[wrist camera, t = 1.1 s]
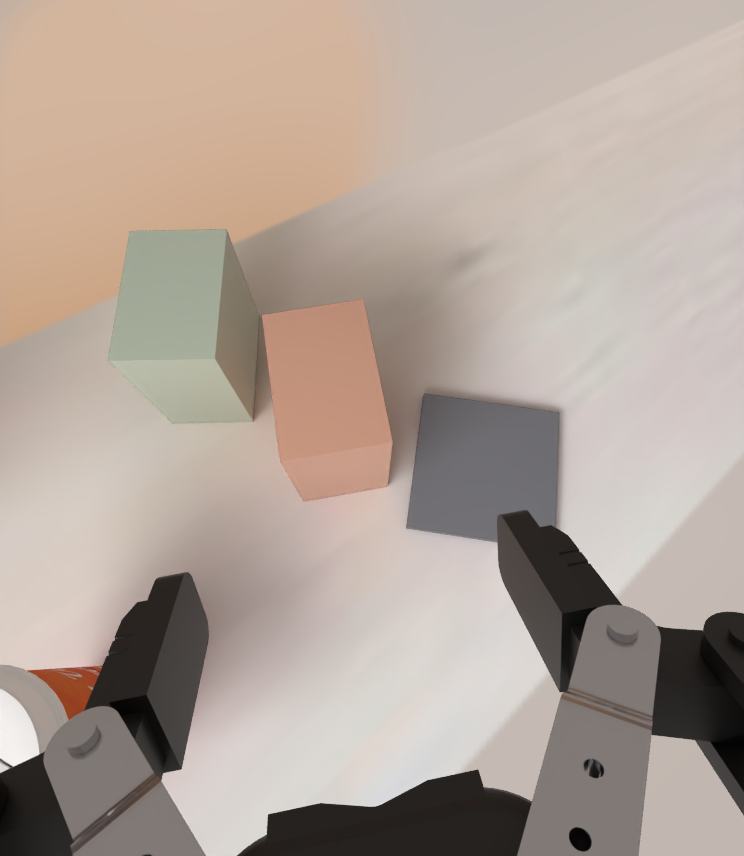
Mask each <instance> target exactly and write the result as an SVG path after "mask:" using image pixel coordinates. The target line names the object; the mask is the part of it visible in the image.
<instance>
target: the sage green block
mask: <svg viewBox="0 0 744 856" xmlns="http://www.w3.org/2000/svg"><path fill="white" fill-rule="evenodd" d="M258 331H259V314H258V312H257V309H256V306H255V304H254V301H253V298H252V296H251V293H250V290H249V288H248V285H247V282H246V280H245V277H244V274H243V272H242V269H241V266H240V264H239V261H238V258H237V256H236V253H235V250H234V248H233V245H232V242H231V240H230V237H229V234H228V232H227V229H214V230H213V229H210V230H156V231H155V230H153V231H130V232H129V238H128V244H127V250H126V256H125V262H124V268H123V273H122V279H121V285H120V291H119V297H118V303H117V309H116V315H115V321H114V327H113V333H112V339H111V345H110V350H109V356H108V362H109V363H110V364H111V365H112V366H113V367H114V368H116V369H117V370H118V371H119V372H120V373H121V374H122V375H123V376H124V377H125V378H126V379H127V380H128V381H129V382H130V383H131V384H132V385H133V386H134V387H135V388H136V389H137V390H138V391H139V392H140V393H141V394H142V395H143V396H144V397H146V398H147V399H148V400H149V401H150V402H151V403H152V404H153V405H154V406H155V407H156V408H157V409H158V410H159V411H160V412H161V413H162V414H163V415H164V416H165V417H166V418H167V419H168V420H169V421H170V422H171V423H207V422H253V415H254V398H255V381H256V365H257V348H258Z"/></svg>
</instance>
